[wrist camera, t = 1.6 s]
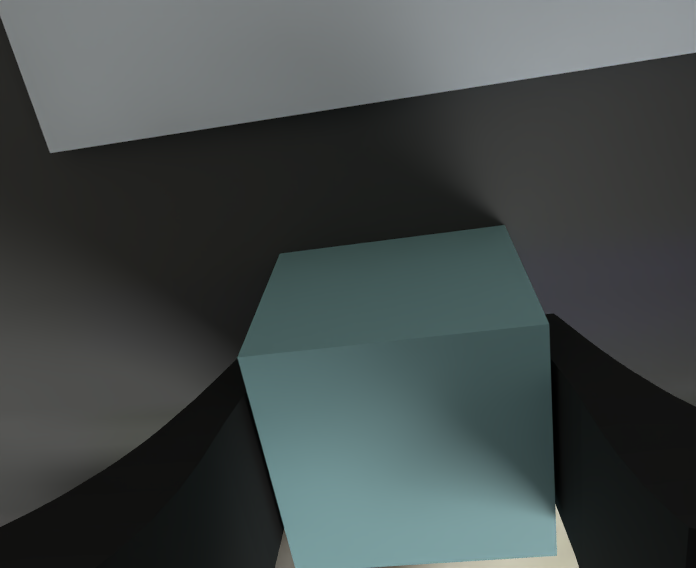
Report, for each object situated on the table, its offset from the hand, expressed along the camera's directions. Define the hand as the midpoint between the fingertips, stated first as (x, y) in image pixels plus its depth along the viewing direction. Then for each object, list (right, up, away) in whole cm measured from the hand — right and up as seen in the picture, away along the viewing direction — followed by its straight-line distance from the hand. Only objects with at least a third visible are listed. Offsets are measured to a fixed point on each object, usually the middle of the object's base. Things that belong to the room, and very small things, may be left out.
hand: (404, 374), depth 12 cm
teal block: (0, +1, +1) cm, 2 cm away
